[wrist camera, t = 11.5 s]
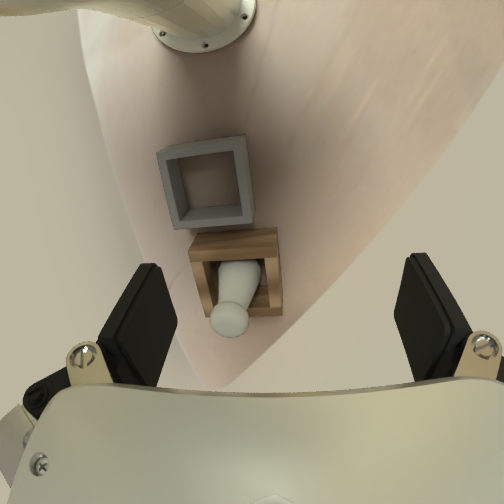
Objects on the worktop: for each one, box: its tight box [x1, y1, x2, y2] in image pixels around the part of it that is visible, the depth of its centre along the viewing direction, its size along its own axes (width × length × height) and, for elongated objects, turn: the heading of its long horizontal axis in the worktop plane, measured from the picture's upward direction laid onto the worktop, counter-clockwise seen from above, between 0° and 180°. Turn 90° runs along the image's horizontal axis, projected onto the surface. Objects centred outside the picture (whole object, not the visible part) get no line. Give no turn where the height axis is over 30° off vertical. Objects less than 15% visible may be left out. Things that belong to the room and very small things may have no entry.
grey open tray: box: [156, 135, 255, 230], centre depth 36 cm, size 10×10×4 cm
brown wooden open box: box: [188, 228, 283, 317], centre depth 42 cm, size 11×11×5 cm
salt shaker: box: [210, 259, 261, 338], centre depth 38 cm, size 6×6×13 cm
